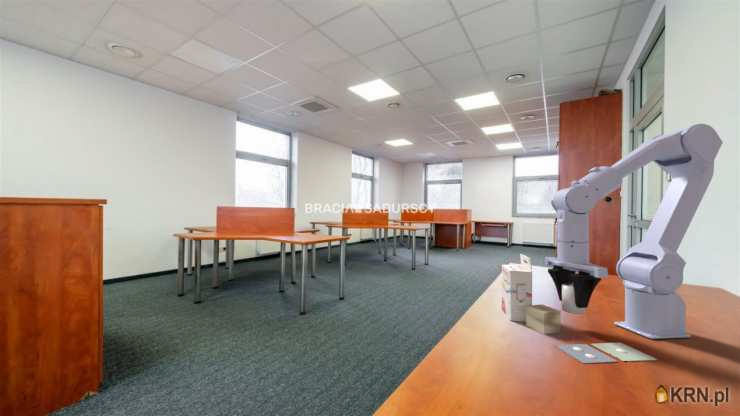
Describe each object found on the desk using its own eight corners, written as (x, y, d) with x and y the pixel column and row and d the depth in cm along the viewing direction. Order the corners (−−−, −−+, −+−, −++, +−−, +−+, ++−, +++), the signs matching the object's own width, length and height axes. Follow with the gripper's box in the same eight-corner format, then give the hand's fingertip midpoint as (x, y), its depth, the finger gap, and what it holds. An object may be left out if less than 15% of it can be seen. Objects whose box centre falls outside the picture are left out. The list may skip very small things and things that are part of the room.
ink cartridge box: (500, 309, 75) (500, 252, 75) (521, 310, 74) (521, 253, 74) (509, 321, 66) (510, 257, 67) (533, 323, 65) (533, 258, 66)
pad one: (620, 343, 56) (620, 342, 56) (657, 360, 49) (657, 358, 49) (590, 344, 55) (590, 343, 55) (623, 361, 48) (623, 360, 48)
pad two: (585, 344, 55) (585, 343, 55) (617, 361, 48) (617, 360, 48) (554, 345, 54) (554, 344, 54) (583, 363, 48) (583, 362, 48)
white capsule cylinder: (573, 307, 65) (573, 283, 65) (589, 313, 61) (589, 288, 61) (557, 308, 65) (557, 283, 65) (572, 314, 61) (571, 288, 61)
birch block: (542, 324, 65) (542, 304, 65) (560, 332, 61) (560, 310, 61) (526, 326, 64) (526, 305, 64) (543, 334, 59) (543, 312, 59)
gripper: (533, 238, 70) (533, 295, 70) (584, 245, 56) (584, 316, 55) (559, 238, 71) (560, 294, 71) (617, 245, 56) (617, 315, 56)
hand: (573, 303), depth 63 cm, fingers closed on white capsule cylinder, 4 cm apart
